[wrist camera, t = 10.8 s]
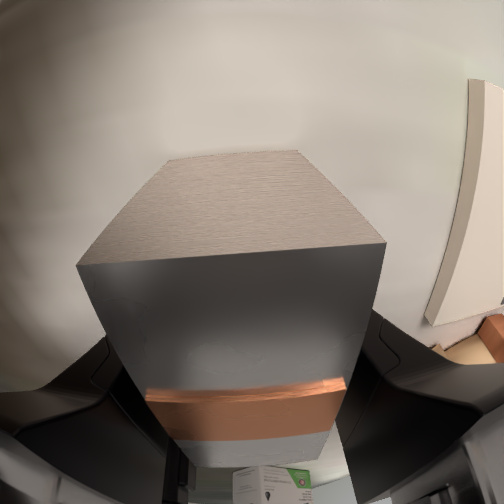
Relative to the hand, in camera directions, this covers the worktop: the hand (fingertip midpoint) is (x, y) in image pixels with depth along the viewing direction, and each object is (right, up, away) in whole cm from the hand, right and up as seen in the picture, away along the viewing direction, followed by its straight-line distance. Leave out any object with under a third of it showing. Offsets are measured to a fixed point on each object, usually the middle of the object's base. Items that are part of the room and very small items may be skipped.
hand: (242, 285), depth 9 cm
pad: (+15, +3, +1) cm, 15 cm away
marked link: (0, +1, +1) cm, 1 cm away
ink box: (+3, -25, +17) cm, 30 cm away
